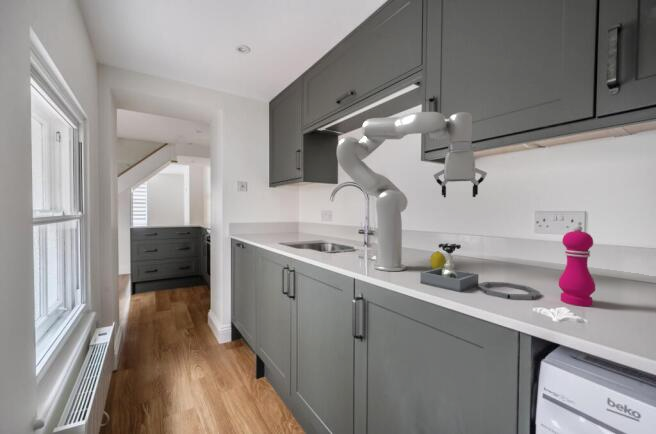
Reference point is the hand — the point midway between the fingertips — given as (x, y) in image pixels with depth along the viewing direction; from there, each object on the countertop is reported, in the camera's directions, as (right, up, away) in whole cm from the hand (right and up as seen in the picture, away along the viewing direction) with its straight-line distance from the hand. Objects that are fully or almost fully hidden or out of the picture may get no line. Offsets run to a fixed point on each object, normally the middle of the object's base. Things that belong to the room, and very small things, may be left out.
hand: (459, 197), depth 104 cm
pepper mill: (+17, -29, -29) cm, 45 cm away
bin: (-8, -29, -11) cm, 32 cm away
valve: (-8, -28, -12) cm, 32 cm away
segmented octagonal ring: (+5, -29, -20) cm, 35 cm away
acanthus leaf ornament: (+5, -30, -39) cm, 50 cm away
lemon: (-5, -28, +7) cm, 30 cm away
